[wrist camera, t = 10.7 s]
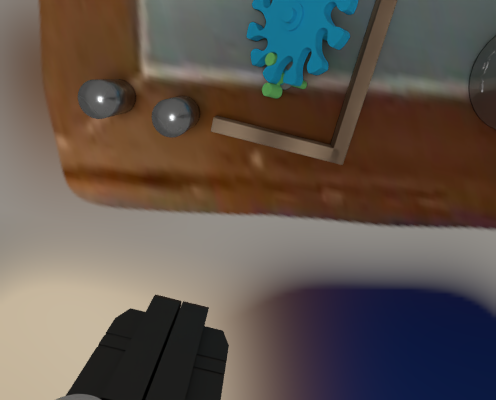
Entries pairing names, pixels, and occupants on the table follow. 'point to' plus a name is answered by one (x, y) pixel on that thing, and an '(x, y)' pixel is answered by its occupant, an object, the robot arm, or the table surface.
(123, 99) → the spacers
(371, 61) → the frame
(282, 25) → the gear
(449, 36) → the table surface
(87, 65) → the table surface
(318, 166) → the table surface
